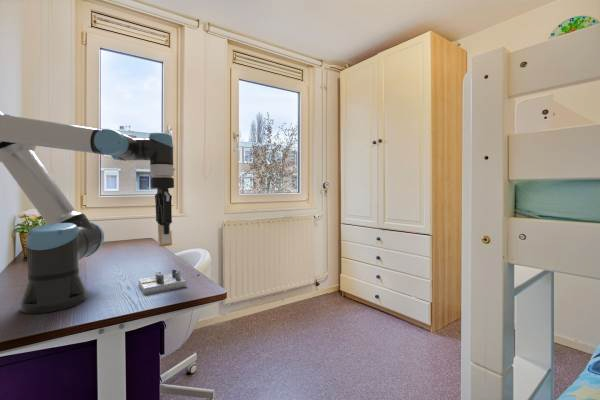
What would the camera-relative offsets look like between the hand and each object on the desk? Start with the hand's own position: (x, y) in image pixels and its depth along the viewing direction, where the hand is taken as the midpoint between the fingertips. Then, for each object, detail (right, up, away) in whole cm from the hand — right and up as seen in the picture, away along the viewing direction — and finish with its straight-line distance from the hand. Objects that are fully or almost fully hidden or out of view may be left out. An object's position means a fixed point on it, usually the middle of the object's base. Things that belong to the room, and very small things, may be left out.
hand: (164, 242), depth 106 cm
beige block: (0, -1, 0) cm, 1 cm away
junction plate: (0, -15, -2) cm, 15 cm away
